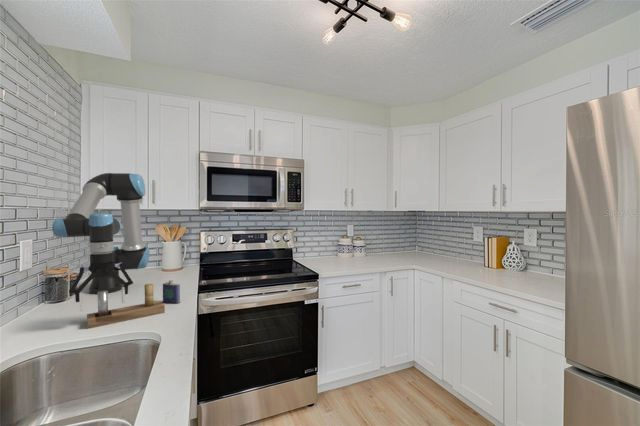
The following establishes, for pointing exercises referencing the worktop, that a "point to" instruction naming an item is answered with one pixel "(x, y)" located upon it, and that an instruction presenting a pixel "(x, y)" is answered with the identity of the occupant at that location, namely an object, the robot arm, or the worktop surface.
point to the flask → (171, 293)
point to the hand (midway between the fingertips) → (103, 306)
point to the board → (128, 311)
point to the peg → (102, 303)
